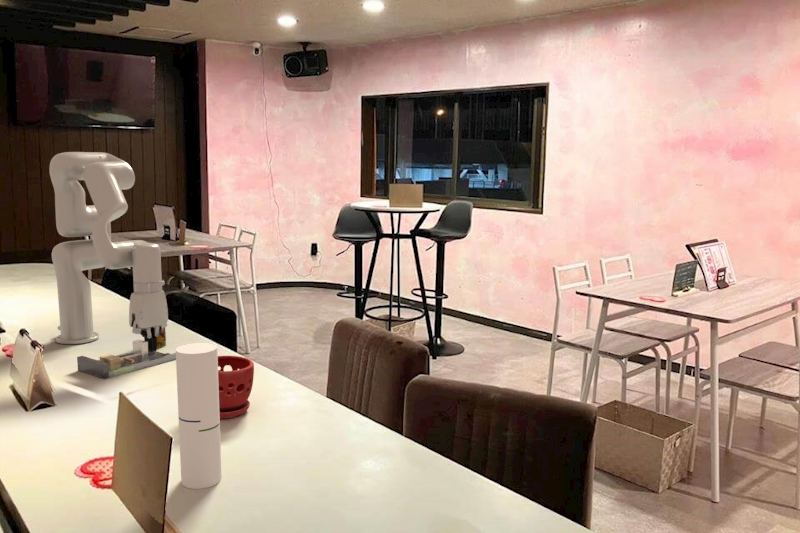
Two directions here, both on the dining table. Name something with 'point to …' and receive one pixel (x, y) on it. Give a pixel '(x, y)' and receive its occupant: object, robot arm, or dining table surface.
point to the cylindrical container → (198, 415)
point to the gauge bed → (103, 372)
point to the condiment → (161, 338)
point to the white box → (136, 353)
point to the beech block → (111, 361)
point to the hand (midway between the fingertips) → (151, 350)
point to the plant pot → (234, 385)
